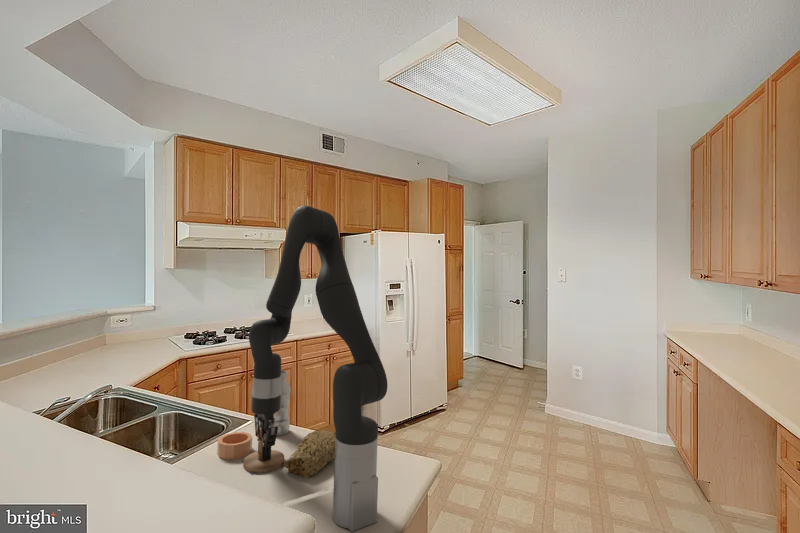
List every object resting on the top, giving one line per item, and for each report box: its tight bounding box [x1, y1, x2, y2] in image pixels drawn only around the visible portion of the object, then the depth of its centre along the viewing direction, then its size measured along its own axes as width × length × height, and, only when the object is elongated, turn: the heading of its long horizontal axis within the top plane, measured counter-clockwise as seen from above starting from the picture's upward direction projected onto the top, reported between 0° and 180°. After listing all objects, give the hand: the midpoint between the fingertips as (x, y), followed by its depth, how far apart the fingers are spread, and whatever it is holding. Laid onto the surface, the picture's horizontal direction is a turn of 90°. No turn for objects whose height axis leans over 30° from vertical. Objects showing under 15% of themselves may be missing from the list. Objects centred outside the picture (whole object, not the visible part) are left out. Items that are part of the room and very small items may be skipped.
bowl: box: [216, 431, 253, 460], centre depth 112 cm, size 9×9×4 cm
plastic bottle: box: [273, 370, 291, 437], centre depth 126 cm, size 6×7×20 cm
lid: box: [242, 438, 285, 474], centre depth 106 cm, size 10×10×6 cm
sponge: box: [284, 429, 336, 479], centre depth 109 cm, size 13×8×20 cm
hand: (264, 456), depth 106 cm, fingers closed on lid, 3 cm apart
